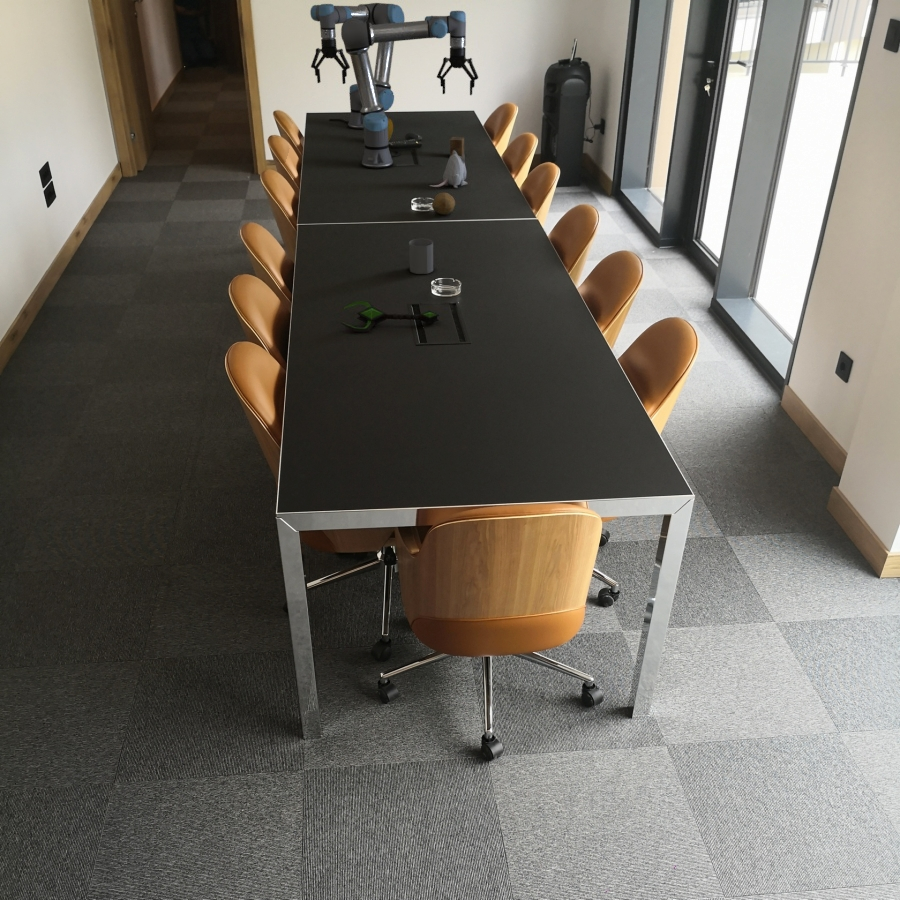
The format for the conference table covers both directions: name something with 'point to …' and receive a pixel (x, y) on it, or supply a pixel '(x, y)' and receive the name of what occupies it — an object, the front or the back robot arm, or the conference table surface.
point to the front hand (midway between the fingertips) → (457, 94)
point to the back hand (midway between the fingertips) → (331, 83)
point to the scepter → (385, 316)
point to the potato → (443, 203)
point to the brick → (457, 145)
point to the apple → (390, 128)
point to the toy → (454, 171)
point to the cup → (421, 256)
